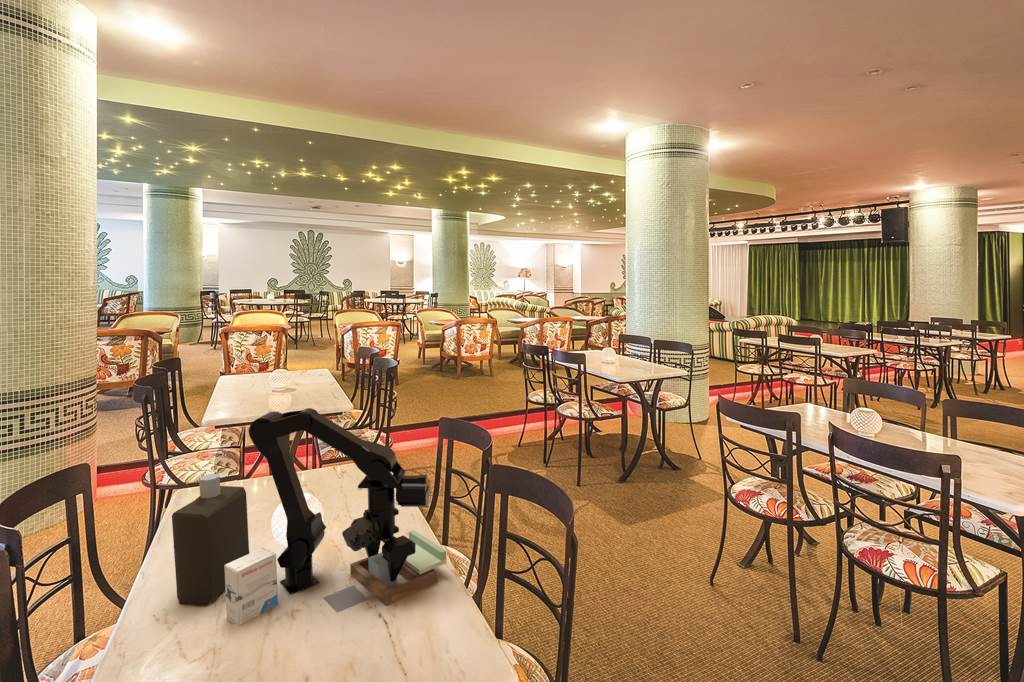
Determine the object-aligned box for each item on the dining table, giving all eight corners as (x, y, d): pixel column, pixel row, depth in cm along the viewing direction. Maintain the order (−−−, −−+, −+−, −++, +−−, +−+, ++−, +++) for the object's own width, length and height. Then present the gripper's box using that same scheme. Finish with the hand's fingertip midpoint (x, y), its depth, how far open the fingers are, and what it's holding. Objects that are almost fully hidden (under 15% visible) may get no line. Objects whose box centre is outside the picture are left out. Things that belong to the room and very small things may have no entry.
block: (368, 582, 121) (368, 557, 120) (386, 575, 124) (386, 550, 124) (378, 591, 118) (378, 565, 117) (397, 583, 121) (396, 558, 120)
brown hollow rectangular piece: (350, 576, 124) (350, 563, 124) (400, 557, 133) (399, 545, 133) (385, 607, 113) (385, 593, 112) (437, 584, 121) (437, 571, 121)
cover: (388, 551, 129) (387, 539, 129) (413, 541, 134) (413, 529, 134) (419, 574, 119) (419, 561, 119) (446, 563, 124) (446, 550, 124)
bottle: (253, 567, 128) (248, 465, 125) (208, 608, 112) (201, 492, 109) (221, 565, 129) (215, 463, 126) (173, 605, 113) (165, 490, 110)
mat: (322, 599, 115) (322, 597, 115) (353, 586, 120) (353, 585, 120) (337, 614, 110) (337, 612, 110) (368, 600, 115) (368, 599, 115)
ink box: (265, 598, 116) (262, 546, 114) (279, 606, 113) (277, 552, 112) (225, 619, 108) (222, 564, 107) (239, 628, 106) (236, 571, 104)
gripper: (328, 502, 120) (330, 568, 122) (368, 531, 107) (370, 605, 109) (373, 489, 128) (374, 552, 130) (416, 515, 114) (417, 585, 116)
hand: (382, 572), depth 121 cm, fingers open, 9 cm apart
